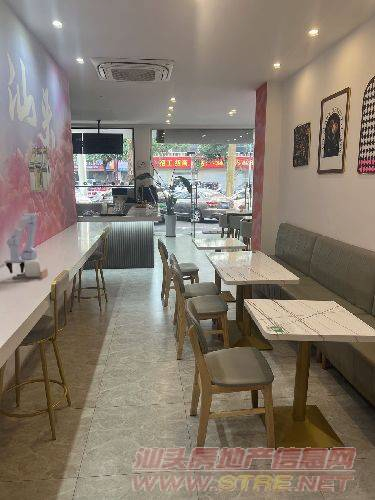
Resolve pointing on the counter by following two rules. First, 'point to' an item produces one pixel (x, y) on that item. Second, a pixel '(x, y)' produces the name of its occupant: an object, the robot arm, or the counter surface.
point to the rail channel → (42, 275)
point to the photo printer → (32, 268)
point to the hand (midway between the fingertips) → (16, 272)
